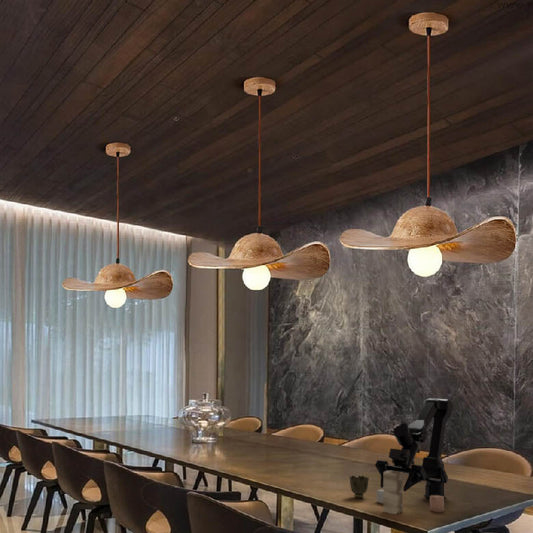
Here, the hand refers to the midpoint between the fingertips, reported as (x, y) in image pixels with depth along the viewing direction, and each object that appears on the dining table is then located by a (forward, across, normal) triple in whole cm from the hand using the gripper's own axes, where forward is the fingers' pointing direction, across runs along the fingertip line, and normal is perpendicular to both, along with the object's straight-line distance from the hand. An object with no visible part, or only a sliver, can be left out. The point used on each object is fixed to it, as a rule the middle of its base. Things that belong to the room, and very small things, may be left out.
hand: (392, 488), depth 257 cm
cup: (-3, -22, +15) cm, 27 cm away
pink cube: (-4, +11, +15) cm, 19 cm away
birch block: (+6, 0, +6) cm, 8 cm away
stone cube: (-3, -10, +15) cm, 18 cm away
